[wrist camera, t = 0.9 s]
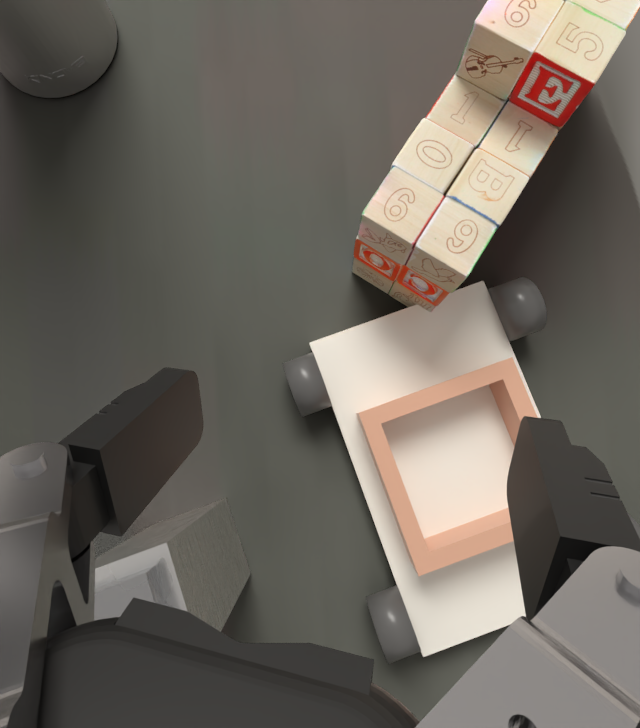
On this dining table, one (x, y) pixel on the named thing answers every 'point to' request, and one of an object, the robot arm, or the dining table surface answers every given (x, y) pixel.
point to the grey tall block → (177, 566)
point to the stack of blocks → (483, 141)
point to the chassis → (434, 454)
